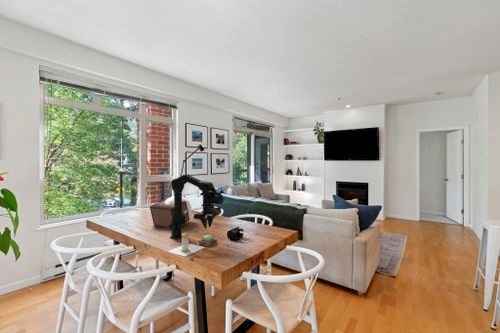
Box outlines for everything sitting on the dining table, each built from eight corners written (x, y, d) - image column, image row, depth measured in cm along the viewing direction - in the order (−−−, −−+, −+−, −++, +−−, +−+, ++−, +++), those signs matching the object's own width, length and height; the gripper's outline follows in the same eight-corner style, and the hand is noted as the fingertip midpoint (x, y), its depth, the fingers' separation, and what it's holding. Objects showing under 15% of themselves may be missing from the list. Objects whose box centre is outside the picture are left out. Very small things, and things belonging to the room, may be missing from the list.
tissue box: (154, 230, 191) (148, 202, 186) (179, 215, 215) (174, 190, 210) (176, 234, 180) (170, 204, 175) (199, 218, 204) (195, 191, 199)
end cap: (235, 235, 163) (235, 226, 163) (243, 237, 159) (243, 227, 159) (226, 240, 154) (226, 229, 154) (235, 241, 151) (235, 231, 151)
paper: (167, 252, 134) (167, 251, 134) (188, 243, 148) (188, 243, 147) (184, 256, 127) (184, 256, 127) (205, 247, 140) (205, 247, 140)
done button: (202, 241, 146) (202, 236, 146) (207, 239, 150) (207, 234, 150) (208, 242, 144) (208, 238, 143) (213, 240, 148) (213, 235, 148)
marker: (180, 250, 134) (180, 234, 134) (185, 248, 137) (185, 232, 137) (185, 252, 132) (185, 235, 132) (190, 250, 135) (189, 233, 135)
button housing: (198, 244, 146) (198, 240, 146) (207, 240, 152) (207, 237, 152) (208, 246, 141) (208, 242, 141) (217, 243, 148) (217, 239, 148)
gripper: (207, 206, 134) (207, 233, 135) (226, 201, 150) (227, 226, 151) (193, 204, 140) (193, 230, 140) (213, 200, 156) (213, 223, 156)
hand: (207, 227), depth 147 cm, fingers open, 4 cm apart
